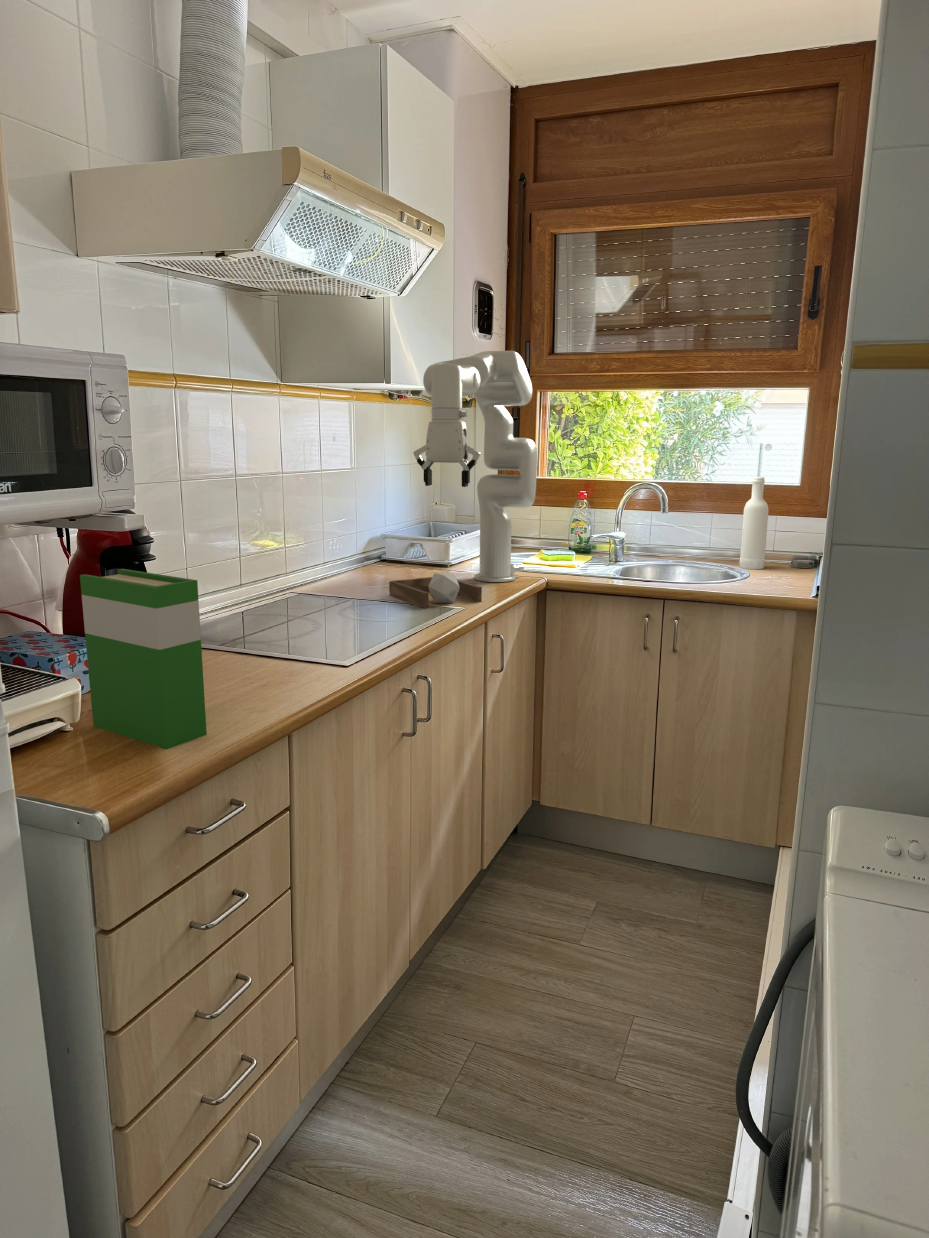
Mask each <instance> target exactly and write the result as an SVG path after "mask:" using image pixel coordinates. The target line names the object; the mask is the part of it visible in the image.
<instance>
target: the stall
mask: <svg viewBox="0 0 929 1238" xmlns="http://www.w3.org/2000/svg"><path fill="white" fill-rule="evenodd" d="M432 577H433V576H431V577H430V576H428V577H419V578H417V577H416V578H409V579H399V580H389V581H388V582H389V583H388V589H389V591H388V592H389V593H388V594H389V595H388V596H390V597H392V598H396V599H398V600H401V601H404V602H406V603H409V604H411V605H415V606H417V607H419V608H423V609H429V608H430V605H429V604H430V591H429V584H430V582H431V579H432ZM457 581H458V584H459V586H460V587H459V592H458V594H457V596H458V597H461V598H463V599H467V600H469V601H473V602H475V603H480V602H482V601H483V600H482V595H483V594H482V590H483V589H482V588H483V587H482V586H479V585H475V584H473V583H469V582H466V581H462V580H460V579H459V580H458V579H457ZM457 596H456V597H457Z"/></svg>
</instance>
